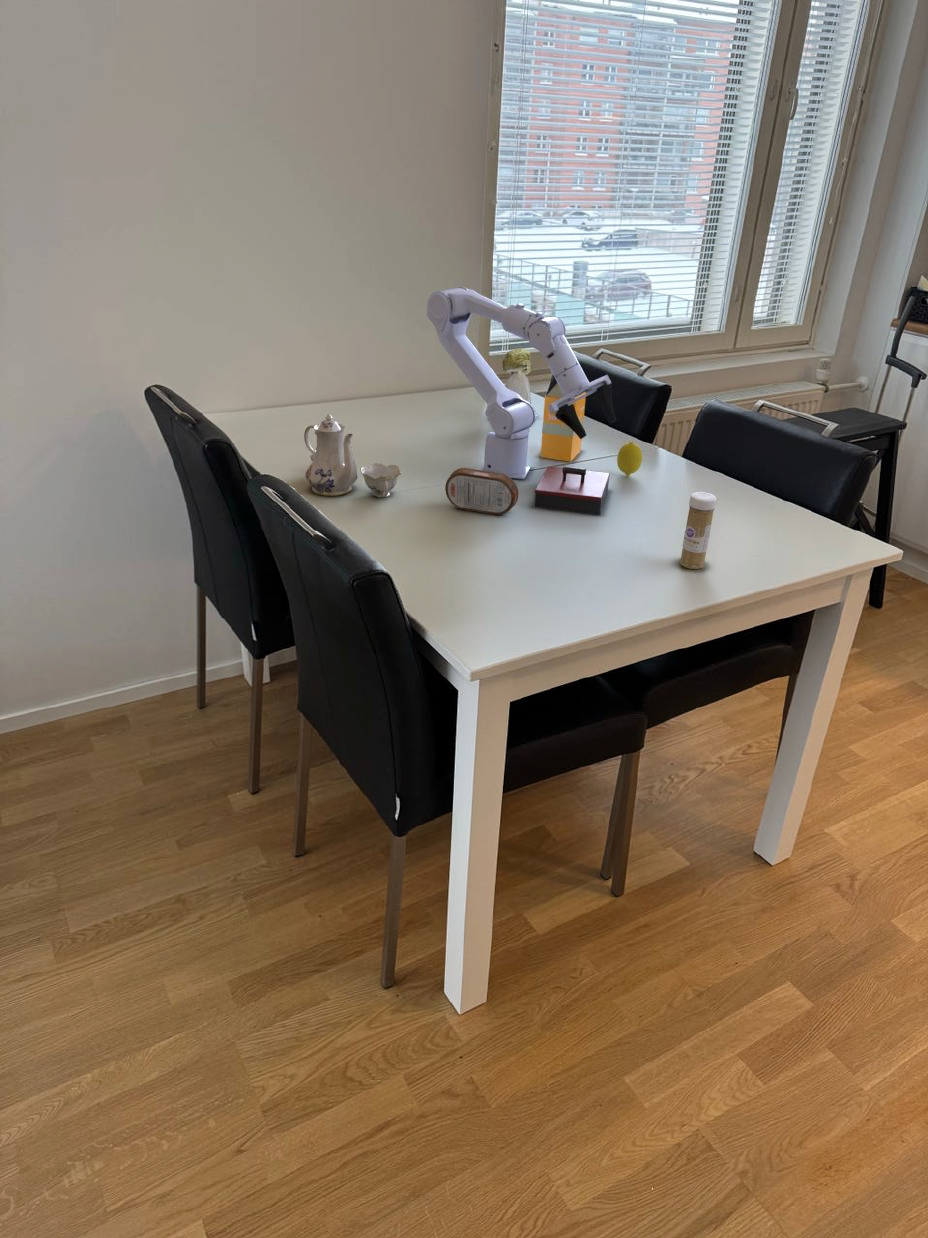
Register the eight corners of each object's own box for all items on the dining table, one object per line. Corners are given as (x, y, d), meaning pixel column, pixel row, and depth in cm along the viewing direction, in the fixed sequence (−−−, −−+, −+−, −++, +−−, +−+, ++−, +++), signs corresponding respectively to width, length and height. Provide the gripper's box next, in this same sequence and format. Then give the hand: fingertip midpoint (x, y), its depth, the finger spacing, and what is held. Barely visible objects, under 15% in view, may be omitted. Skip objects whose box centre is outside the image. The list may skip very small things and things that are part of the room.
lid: (600, 501, 184) (602, 483, 183) (534, 493, 187) (535, 475, 185) (609, 476, 198) (611, 459, 196) (547, 469, 200) (548, 452, 199)
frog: (546, 418, 247) (552, 349, 238) (518, 427, 238) (523, 356, 230) (511, 409, 254) (516, 341, 245) (482, 418, 245) (486, 348, 236)
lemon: (639, 480, 206) (643, 446, 202) (614, 478, 207) (618, 444, 203) (640, 472, 211) (644, 439, 207) (615, 470, 211) (619, 436, 208)
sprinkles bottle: (674, 564, 167) (685, 495, 160) (686, 557, 170) (698, 489, 163) (697, 572, 164) (709, 502, 158) (709, 564, 167) (721, 495, 161)
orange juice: (539, 457, 218) (546, 372, 209) (550, 446, 225) (557, 364, 216) (571, 462, 216) (579, 376, 206) (581, 451, 223) (589, 368, 213)
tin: (517, 513, 186) (520, 474, 182) (513, 519, 183) (515, 479, 179) (448, 502, 190) (449, 464, 186) (443, 508, 187) (443, 468, 183)
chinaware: (415, 501, 194) (421, 423, 188) (355, 513, 183) (360, 431, 176) (330, 468, 211) (333, 396, 204) (270, 478, 199) (271, 401, 192)
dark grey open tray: (599, 515, 187) (601, 500, 185) (534, 507, 190) (535, 492, 188) (607, 491, 199) (609, 476, 198) (546, 483, 202) (547, 469, 200)
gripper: (545, 379, 184) (577, 439, 184) (603, 350, 187) (634, 409, 188) (534, 390, 191) (564, 448, 191) (590, 362, 194) (620, 419, 195)
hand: (598, 429), depth 190 cm, fingers open, 7 cm apart
